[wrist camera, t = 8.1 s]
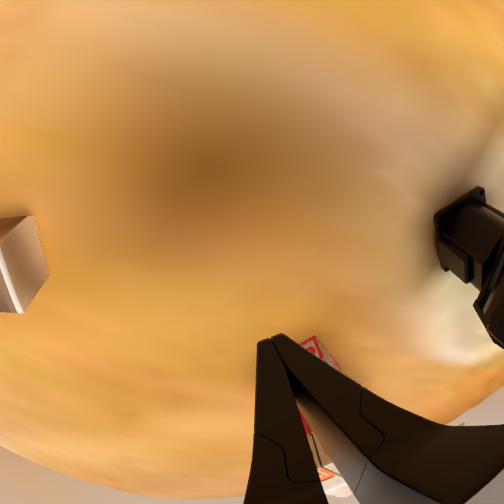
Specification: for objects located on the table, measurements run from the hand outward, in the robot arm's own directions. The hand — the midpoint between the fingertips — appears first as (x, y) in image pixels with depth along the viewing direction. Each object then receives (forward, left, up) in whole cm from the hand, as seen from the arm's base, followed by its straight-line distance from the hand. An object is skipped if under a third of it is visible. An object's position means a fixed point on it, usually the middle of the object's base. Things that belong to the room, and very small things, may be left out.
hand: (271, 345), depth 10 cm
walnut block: (+14, -5, -10) cm, 18 cm away
